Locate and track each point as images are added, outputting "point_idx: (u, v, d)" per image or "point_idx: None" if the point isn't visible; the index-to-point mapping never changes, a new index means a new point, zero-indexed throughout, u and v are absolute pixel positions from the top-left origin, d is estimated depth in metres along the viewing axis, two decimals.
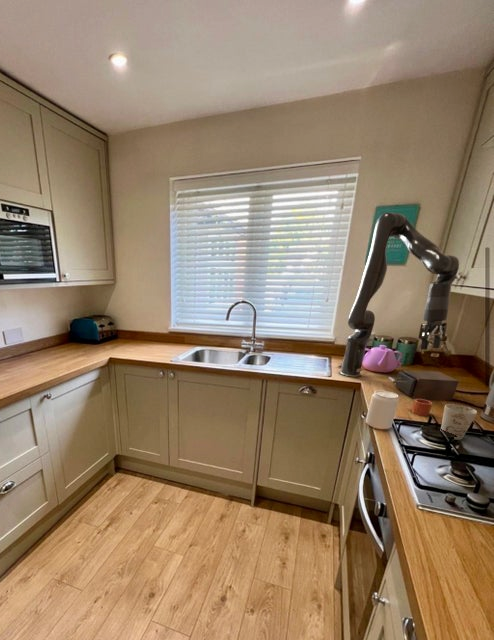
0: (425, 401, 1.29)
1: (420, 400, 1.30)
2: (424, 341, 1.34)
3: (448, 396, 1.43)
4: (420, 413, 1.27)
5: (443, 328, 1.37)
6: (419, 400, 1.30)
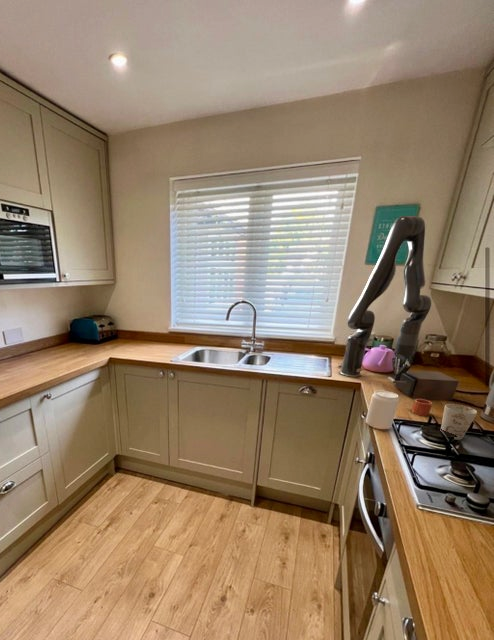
0: (425, 401, 1.29)
1: (420, 400, 1.30)
2: (400, 374, 1.47)
3: (448, 396, 1.43)
4: (420, 413, 1.27)
5: None
6: (419, 400, 1.30)
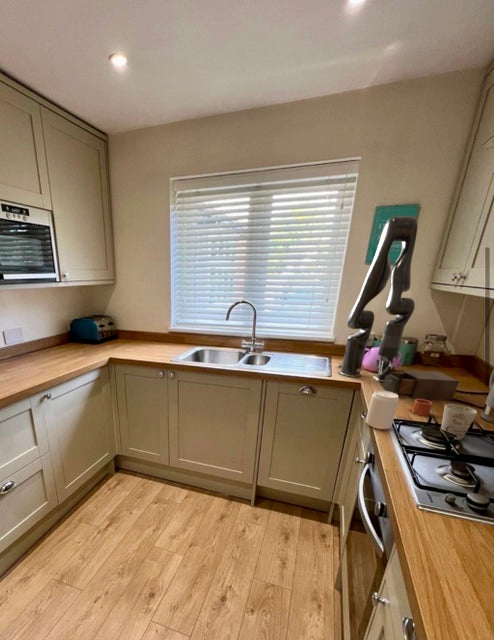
0: (425, 401, 1.29)
1: (420, 400, 1.30)
2: (384, 376, 1.48)
3: (448, 396, 1.43)
4: (420, 413, 1.27)
5: None
6: (419, 400, 1.30)
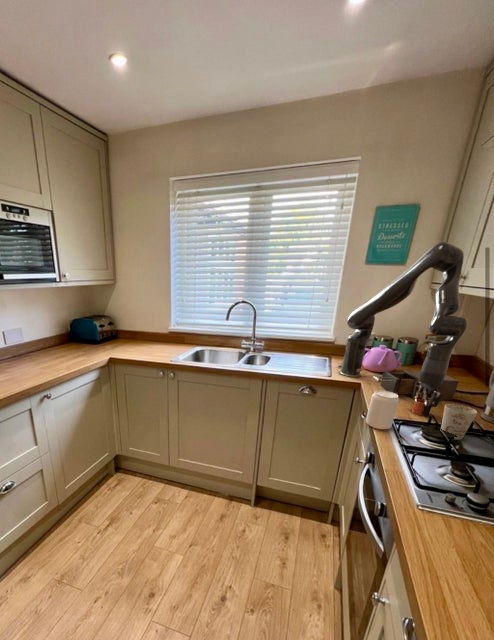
0: None
1: (420, 400, 1.30)
2: None
3: (448, 396, 1.43)
4: (420, 413, 1.27)
5: None
6: (419, 400, 1.30)
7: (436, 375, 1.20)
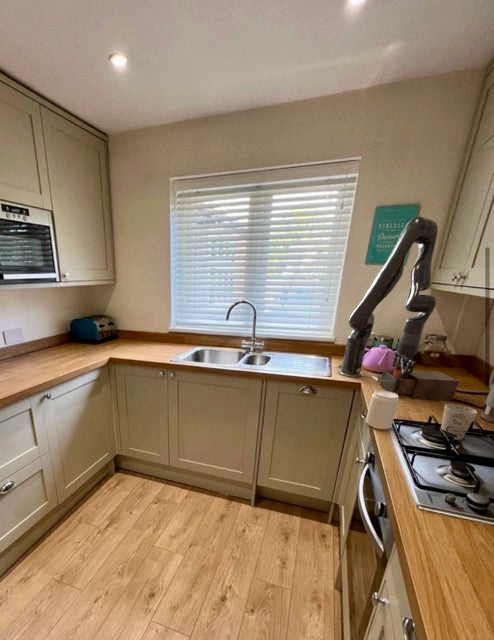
0: None
1: (399, 370, 1.50)
2: None
3: (448, 396, 1.43)
4: (398, 380, 1.47)
5: None
6: (398, 370, 1.50)
7: (411, 346, 1.40)
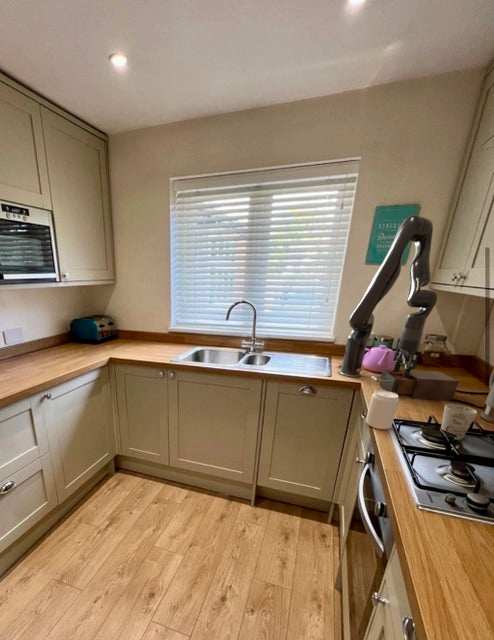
0: (402, 378, 1.50)
1: (397, 377, 1.51)
2: None
3: (448, 396, 1.43)
4: None
5: None
6: (397, 377, 1.51)
7: (412, 342, 1.39)
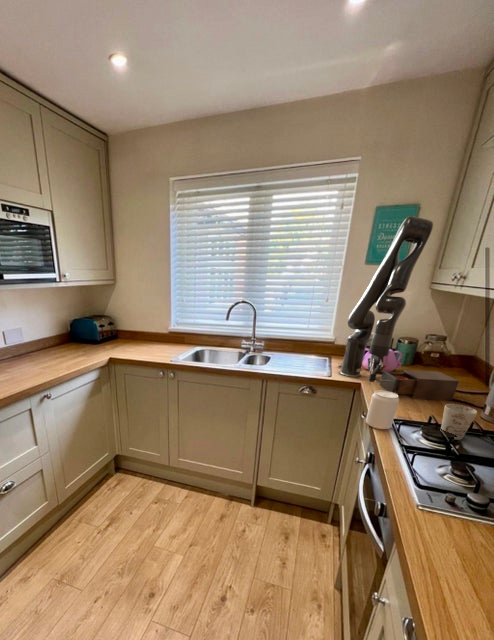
0: (403, 378, 1.50)
1: (398, 377, 1.51)
2: None
3: (448, 396, 1.43)
4: None
5: None
6: (397, 377, 1.51)
7: (381, 347, 1.42)
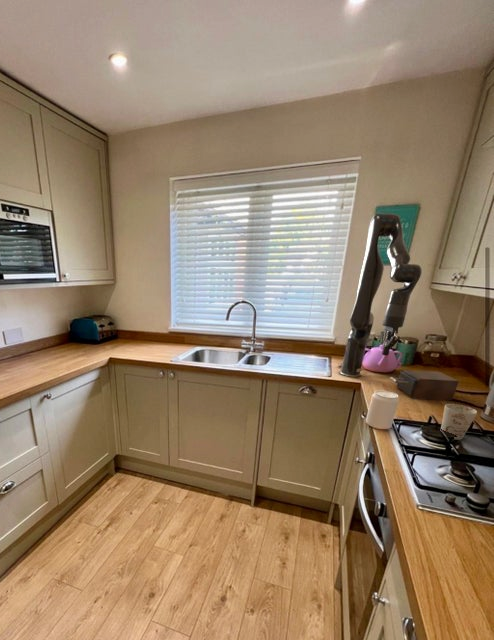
0: None
1: None
2: None
3: (448, 396, 1.43)
4: None
5: None
6: None
7: (396, 318, 1.37)
